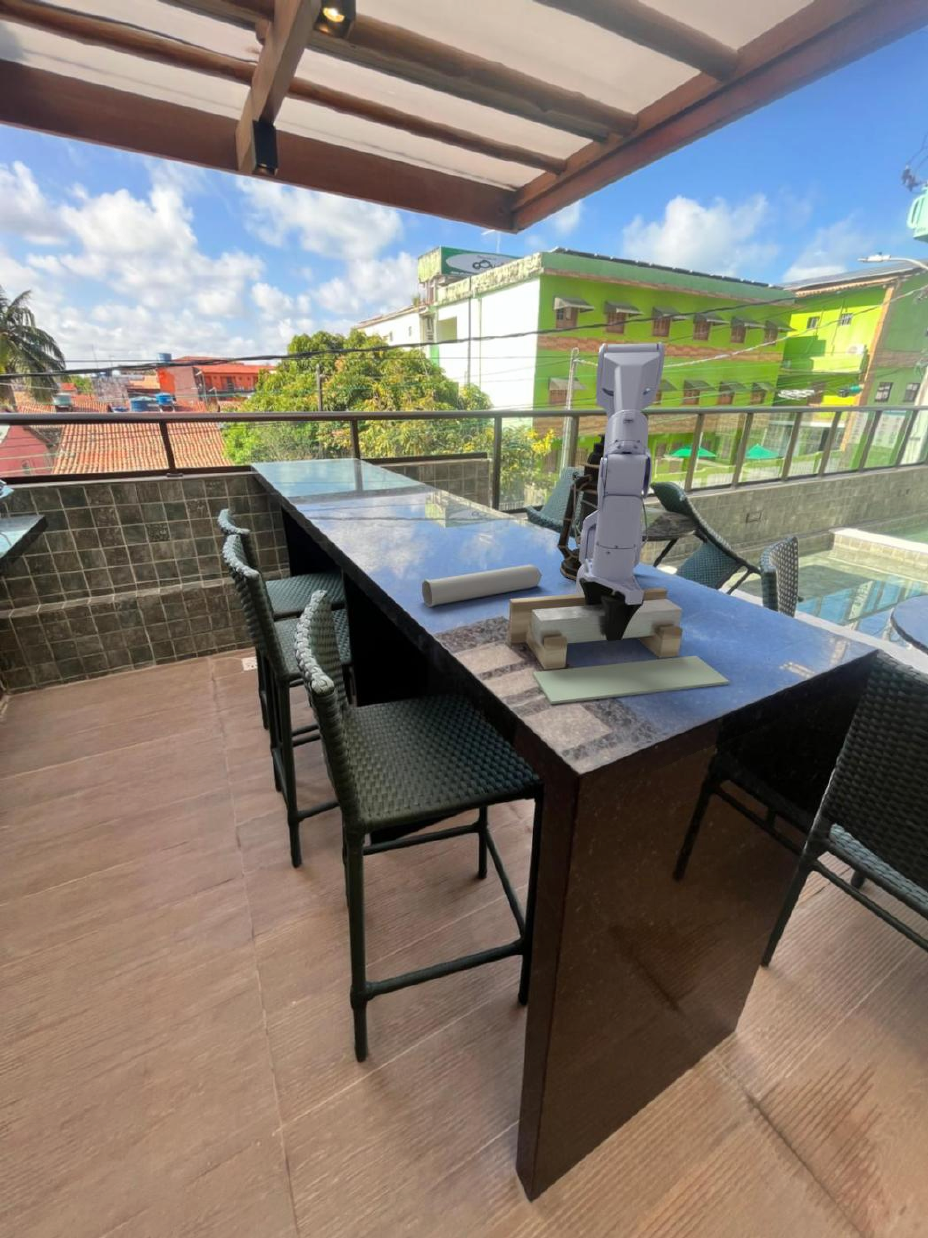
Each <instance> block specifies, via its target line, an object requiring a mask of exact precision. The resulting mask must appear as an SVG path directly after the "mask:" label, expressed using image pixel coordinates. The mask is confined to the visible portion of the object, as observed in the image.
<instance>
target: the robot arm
mask: <svg viewBox="0 0 928 1238" xmlns="http://www.w3.org/2000/svg"><path fill="white" fill-rule="evenodd" d="M665 355H666V348H665V345H664V344H663V342H662V341H658V342H655V343H609V344H608V343H606V342H603V343H602V345H600V346H599V349H598V357H597V358H598V359H597V367H596V368H597V369H596V377H595V378H596V379H595V384H596V388H595V398H596V405H597V406H598V407H600V408H601V409H604V410H605V413H606V417H607V418H606V419H607V422H606V425H605V433H604V434H605V444H604V455H603V458H601V461H600V467H599V476H598V487H597V492H598V510H597V511H595V512H593V513H592V514H590V515H589V516H587V517H586V518H585V520H584V521H583V530H582V532H581V535H580V536H581V542H580V544H579V547H580V553H579V561H580V562H581V564H582V565H581V567H580V568H579V570H578V573H577V581H575V582H576V583H575V590H574V591H575V592H574V593H575V594H584V596H585V600H586V605H599V604H603V606H604V610H605V618H606V628H605V634H606V640H605V641H607V642H609V643H610V642H619V641H622V639H623V638H622V637H623V635H624V633H625V630H626V628H627V626H628V624H629V622H630V620H631V618H632V617H633V615H634V614H635V613H636V611H637V610H638V609H639V608H640V607H641V606H642V605H643V602H644V599H643V593H644V590H642V589H643V588H641V587H640V585H639V583H638V581H637V579H636V576H635V574H634V568H636V567H637V566H638V565H639V562H640V559H641V554H642V549H643V547H642V544H643V534H642V532H643V524H642V521H641V518H642V511H643V501H644V500H645V499H647V497H648V493H649V490H650V487H651V482H652V475H653V458H652V454H651V448H648V446H649V419H648V418H647V416H646V415H645V414H644V413H642V411H643V410H645V409H646V408H648V407H650V406H652V405H653V404H654V399H656V397H657V394H658V389H659V384H660V382H661V380H662V376H663V371H664V366H665V365H664V364H665V357H666V356H665ZM642 493H643V494H642ZM641 494H642V495H643V500H642V499H641ZM641 548H642V549H641ZM586 552H587V553H586ZM585 558H586V559H585ZM613 591H615V595H611V594H612V592H613Z"/></svg>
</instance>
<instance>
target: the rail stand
mask: <svg viewBox="0 0 928 1238" xmlns="http://www.w3.org/2000/svg"><path fill="white" fill-rule="evenodd" d="M641 589H642V590H644V593H643V599H644V601H650V600H662V599H667V597H668V590H667V589H666V588H664V587H655V588H641ZM611 595H615V591H613V592H612V594H611ZM574 606H587V605H586V600H585V596H584V594H574V593H573V594H572V593H571V594H561V595H560V594H558V595H549V596H548V595H547V596H535V597H534V596H533V597H522V598H521V597H520V598H510V599H509V613H508V615H509V618H508V641H509V643H510V642H511V643H513V644H523V643H526V644H527V645H528V647H529V649H530V650H531V652H532V653H533V654H534V655H535V657H536V659H537V660H538V662H539V663H540V664H541V666H542V667H543V669H544V671H548V670H558V669H564V668H565V669H566V660H567V659H566V658H567V649H568V643H567V639H566V637H565V636H560V637H549V638H544V646H539V645H538V644H537V642H536V641H535V640H534V638H533V637H532V636H531V618H532V610H536V609H549V608H561V607H574ZM683 631H684V629H683V627H681V626H680V625H679V626H671V627H660V631H659V635H653V636H642V637H635V638H636V639H637V640H638V641H639V642H640V643H641V644H643V645H644V646H645V647H646V648H647V649H649V651H651V652H652V653H653V654H654V655H656V656H657V657H658V658H659V659H666V658H676V657H679V652H680V647H681V641H682V637H683ZM511 643H510V644H511Z"/></svg>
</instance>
